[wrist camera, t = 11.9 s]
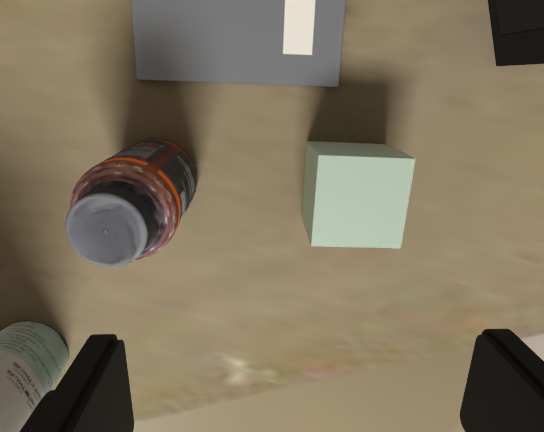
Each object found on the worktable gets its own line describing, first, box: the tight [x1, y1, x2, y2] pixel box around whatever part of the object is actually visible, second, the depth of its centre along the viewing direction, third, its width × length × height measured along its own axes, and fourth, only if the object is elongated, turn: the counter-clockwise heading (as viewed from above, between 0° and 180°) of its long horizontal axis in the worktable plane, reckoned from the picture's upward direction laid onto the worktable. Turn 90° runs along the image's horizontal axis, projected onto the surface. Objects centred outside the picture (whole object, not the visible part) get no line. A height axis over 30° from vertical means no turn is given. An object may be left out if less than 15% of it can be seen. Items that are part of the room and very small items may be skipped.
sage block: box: [302, 141, 415, 248], centre depth 28 cm, size 6×6×6 cm
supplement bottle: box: [65, 139, 197, 267], centre depth 24 cm, size 6×6×11 cm
